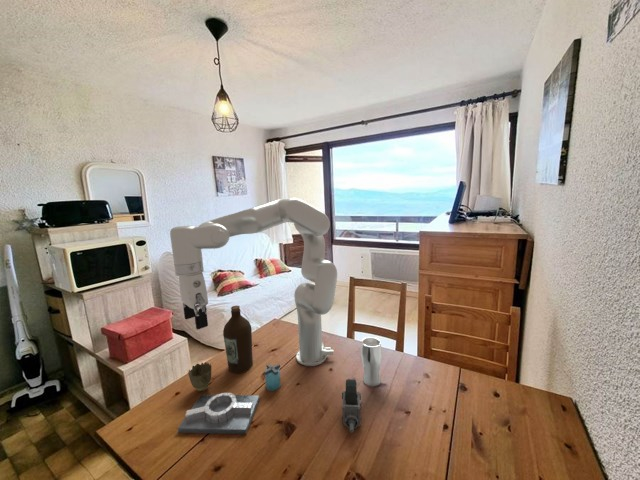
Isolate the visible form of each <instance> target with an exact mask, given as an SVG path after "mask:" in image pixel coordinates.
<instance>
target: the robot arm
mask: <svg viewBox="0 0 640 480" xmlns="http://www.w3.org/2000/svg"><path fill="white" fill-rule="evenodd" d="M286 223H293V226H294V229H295V230H296V231H297V232H298V233H299V234H300V236H301V238H302V240H303V252H302V253H303V254H302V260H301V261H302V262H301V270H300V273H301V275H302V277H303V278H304V279H306V280H308V281H310V282H313V283H314V284H313V283H310V282H302V283H300V284H299V285H298V286H297V287H296V288H295V289H294V295H293V297H294V302H295V307H296V312H297V313H296V314H297V326H298V328H297V330H298V345H299V347H298V348H299V350H298V351H297V353H296V355H295V358H296V359H295V360H296V361H297V363H299V364H300V365H302V366H306V367H315V366H318V365H321V364H323V363H324V362H325V361H326V360H327V356H334V350H333V349H331V346H330V347H326V346H324V343H323V330H322V329H323V328H322V325H323V324H322V316H323V315H327V314H328V313H329V312H330V311H331V310H332V307H333V305H334V302H335V296H336V289H337V281H338V269H337V266H336V265H335V264H334V263H333V262H332V261H330V260H328V259H325V257H326V256H325V254H326V240H325V237H324V235H326V234H327V233H328V231H329V230H330V227H331V222H330V218H329V217H328V216H327V214H325V213H324V212H323V211H322V210H320V209H318V208H316V207H314V206H313V205H311V204H309V203H308V202H306V201H304V200H303V199H300V198H297V197H285V198H279V199H275V200H272V201H269V202H266V203H263V204H260V205H257V206H255V207H250V208H247V209H244V210H241V211H240V210H239V211H238V212H234V213H230V214H227V215H224V216H220V217H218V218H215V219H210V220H208V221H205V222H203V223H202V222H201V224H199V225H198V226H195V225H180V226H179V225H178V226H174V227H172V228H171V229H170V231H169V236H170V242H171V248H172V252H171V253H172V260H173V266H174V273H175V274H174V275H175V276H176V277H178V283H179V292H180V298H181V301H182V308H183V314H184V319H185V320H189V319H192V318H194V323H195V329H196V330H200V329H203V328H206V327H208V325H209V323H208V315H207V314H208V312H207V310H208V309H207V305H209V296H208V290H207V286H206V280H205V276H204V272H205V270H204V261H203V253H202V250H211V249H213V250H215V249H221V248H223V247H224V246H226V245H227V244H228V242H229V240H230V238H232V237H235V236H241V235H250V234H251V235H252V234H257V233H261V232H264V231H266V230H269V229H272V228H274V227H276V226H279V225H280V226H281V225H283V224H286Z"/></svg>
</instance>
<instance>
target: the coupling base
mask: <svg viewBox="0 0 640 480" xmlns="http://www.w3.org/2000/svg"><path fill="white" fill-rule="evenodd" d="M259 402H260V395H259V394H258V395H255V394H253V395H251V394H250V395H249V394H234V393H232V392H221V393H218V394H200V396H199V397H198V398H197V399H196V401H195V403H194V404H193V405H192V407H191V409H188V410H186V412H185V417H184V419H183V420H182V421H181V423H180V424H179V426H177V433H178V434H214V435H215V434H218V435H220V434H221V435H223V434H224V435H247V433H248V431H249V429H250V425H251V423H252V421H253V418H254V415H255V413H256V410H257V407H258V405H259Z"/></svg>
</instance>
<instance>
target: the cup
mask: <svg viewBox="0 0 640 480" xmlns="http://www.w3.org/2000/svg"><path fill="white" fill-rule="evenodd" d="M191 368H192V369H188V373H187V374H188V377H189V381H190V384H191V386H192V387H193V388H194V389H196V391H197V392H200V393H201V392H202V393H203V392H204V391H207V389H208V387H209V384H210V383H211V380H212V365H211V363H209V362H204V363H203V362H201V364H200V363H196V364H195V365H192V367H191Z"/></svg>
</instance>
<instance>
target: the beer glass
mask: <svg viewBox="0 0 640 480" xmlns="http://www.w3.org/2000/svg"><path fill="white" fill-rule="evenodd" d="M382 358H383V357H382V341H381V340H380V339H379V338H377V337H374V336H366V337H364V338H362V340H361V361H362V365H363V377H362V381H363V383H364V384H365V385H366V386H369V387H377V386H379V385H380V384H381V378H380V370H381V363H382Z"/></svg>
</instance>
